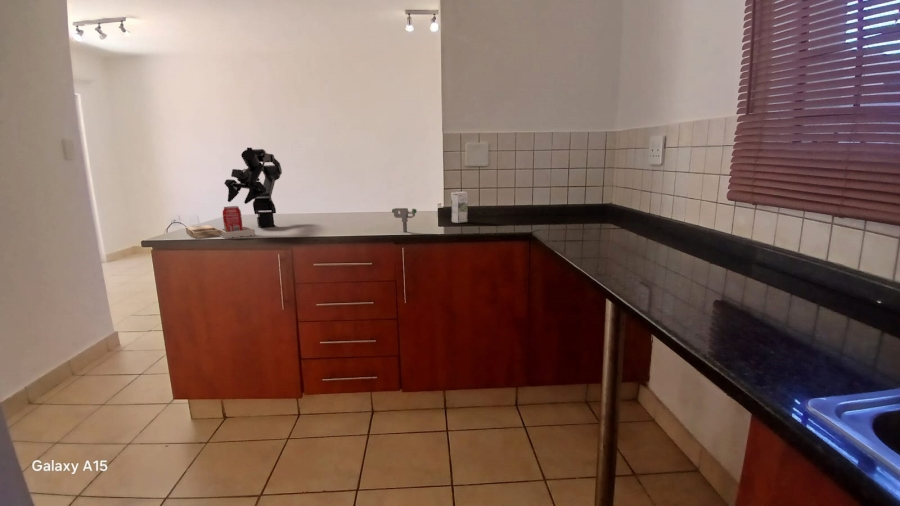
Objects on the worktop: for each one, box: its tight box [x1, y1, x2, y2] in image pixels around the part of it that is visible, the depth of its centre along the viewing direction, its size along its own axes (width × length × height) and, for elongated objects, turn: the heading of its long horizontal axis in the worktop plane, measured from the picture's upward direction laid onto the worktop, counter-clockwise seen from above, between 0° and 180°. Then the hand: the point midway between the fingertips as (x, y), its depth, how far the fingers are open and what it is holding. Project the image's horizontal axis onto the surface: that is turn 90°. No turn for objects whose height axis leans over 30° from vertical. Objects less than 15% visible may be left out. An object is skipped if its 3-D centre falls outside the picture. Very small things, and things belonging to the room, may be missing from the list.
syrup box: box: [450, 190, 469, 224], centre depth 222 cm, size 6×6×14 cm
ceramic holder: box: [218, 226, 256, 239], centre depth 198 cm, size 12×12×2 cm
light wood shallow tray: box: [185, 224, 220, 239], centre depth 202 cm, size 10×20×2 cm, turn 37°
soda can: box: [222, 205, 244, 232], centre depth 197 cm, size 7×7×12 cm
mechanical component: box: [391, 207, 418, 233], centre depth 197 cm, size 3×10×10 cm, turn 78°
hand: (236, 202), depth 200 cm, fingers open, 9 cm apart
